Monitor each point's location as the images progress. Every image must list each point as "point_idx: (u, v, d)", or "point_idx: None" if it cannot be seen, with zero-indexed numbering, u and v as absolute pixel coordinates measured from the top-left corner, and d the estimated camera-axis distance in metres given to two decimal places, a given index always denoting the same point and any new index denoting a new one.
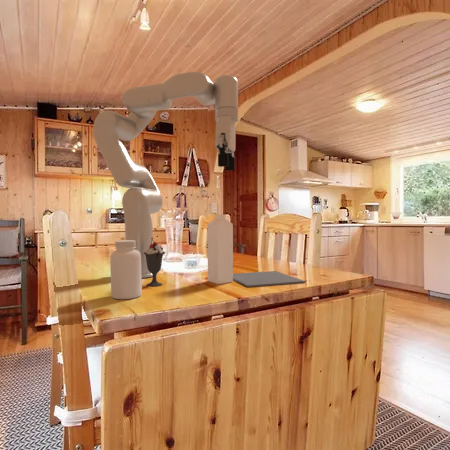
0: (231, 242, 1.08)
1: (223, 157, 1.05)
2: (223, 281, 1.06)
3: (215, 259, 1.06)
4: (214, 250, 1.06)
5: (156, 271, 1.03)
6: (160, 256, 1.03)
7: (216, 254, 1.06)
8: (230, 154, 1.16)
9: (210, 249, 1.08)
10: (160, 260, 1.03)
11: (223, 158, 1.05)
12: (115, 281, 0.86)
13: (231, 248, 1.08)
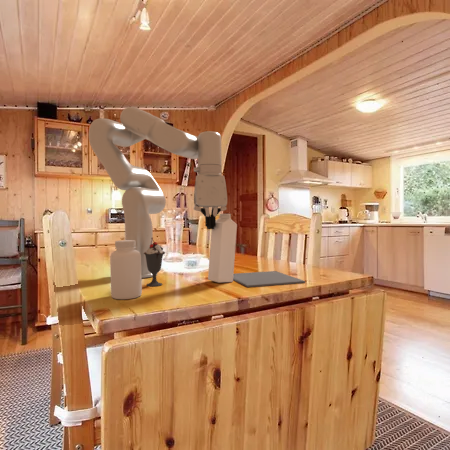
0: (234, 242, 1.09)
1: None
2: (223, 280, 1.07)
3: (217, 257, 1.07)
4: (217, 249, 1.07)
5: (156, 271, 1.03)
6: (160, 256, 1.03)
7: (218, 252, 1.06)
8: None
9: (213, 247, 1.09)
10: (160, 260, 1.03)
11: None
12: (115, 281, 0.86)
13: (233, 248, 1.09)
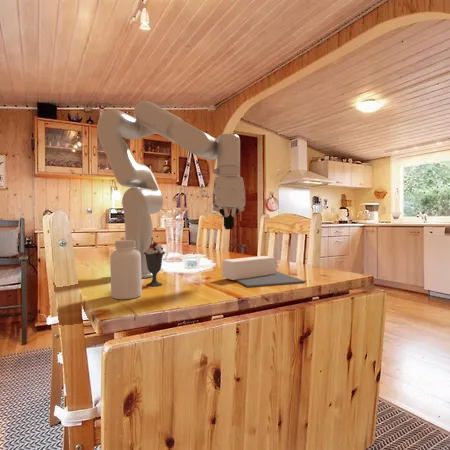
0: (262, 273, 1.16)
1: None
2: (234, 268, 1.09)
3: (248, 259, 1.14)
4: (253, 258, 1.16)
5: (156, 271, 1.03)
6: (160, 256, 1.03)
7: (252, 259, 1.15)
8: None
9: None
10: (160, 260, 1.03)
11: None
12: (115, 281, 0.86)
13: (258, 274, 1.15)
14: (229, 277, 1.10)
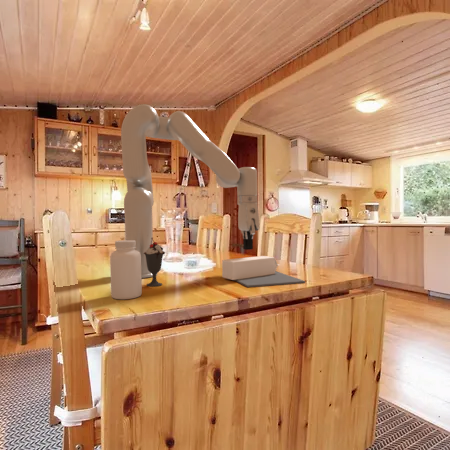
0: (262, 273, 1.16)
1: None
2: (234, 268, 1.09)
3: (248, 259, 1.14)
4: (253, 258, 1.16)
5: (156, 271, 1.03)
6: (160, 256, 1.03)
7: (252, 259, 1.15)
8: None
9: None
10: (160, 260, 1.03)
11: None
12: (115, 281, 0.86)
13: (258, 274, 1.15)
14: (229, 277, 1.10)
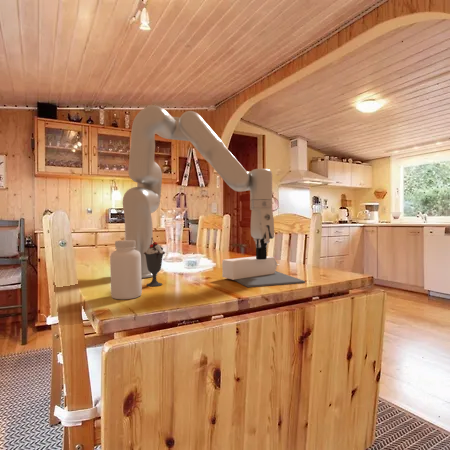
0: (262, 273, 1.17)
1: None
2: (234, 267, 1.09)
3: (248, 259, 1.15)
4: (253, 258, 1.17)
5: (156, 271, 1.03)
6: (160, 256, 1.03)
7: (252, 258, 1.15)
8: None
9: (249, 257, 1.19)
10: (160, 260, 1.03)
11: None
12: (115, 281, 0.86)
13: (258, 274, 1.16)
14: (229, 277, 1.10)
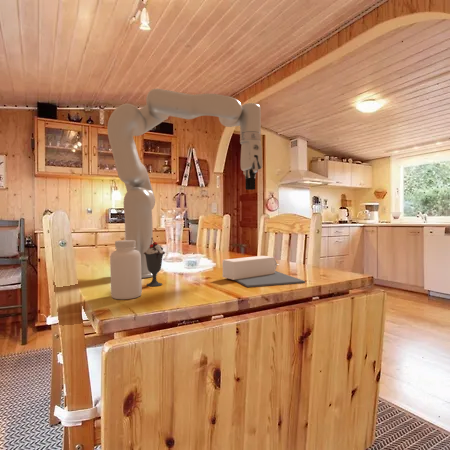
0: (262, 273, 1.17)
1: None
2: (234, 267, 1.09)
3: (248, 259, 1.15)
4: (253, 258, 1.17)
5: (156, 271, 1.03)
6: (160, 256, 1.03)
7: (252, 259, 1.16)
8: None
9: (249, 257, 1.19)
10: (160, 260, 1.03)
11: None
12: (115, 281, 0.86)
13: (258, 274, 1.16)
14: (229, 277, 1.11)
